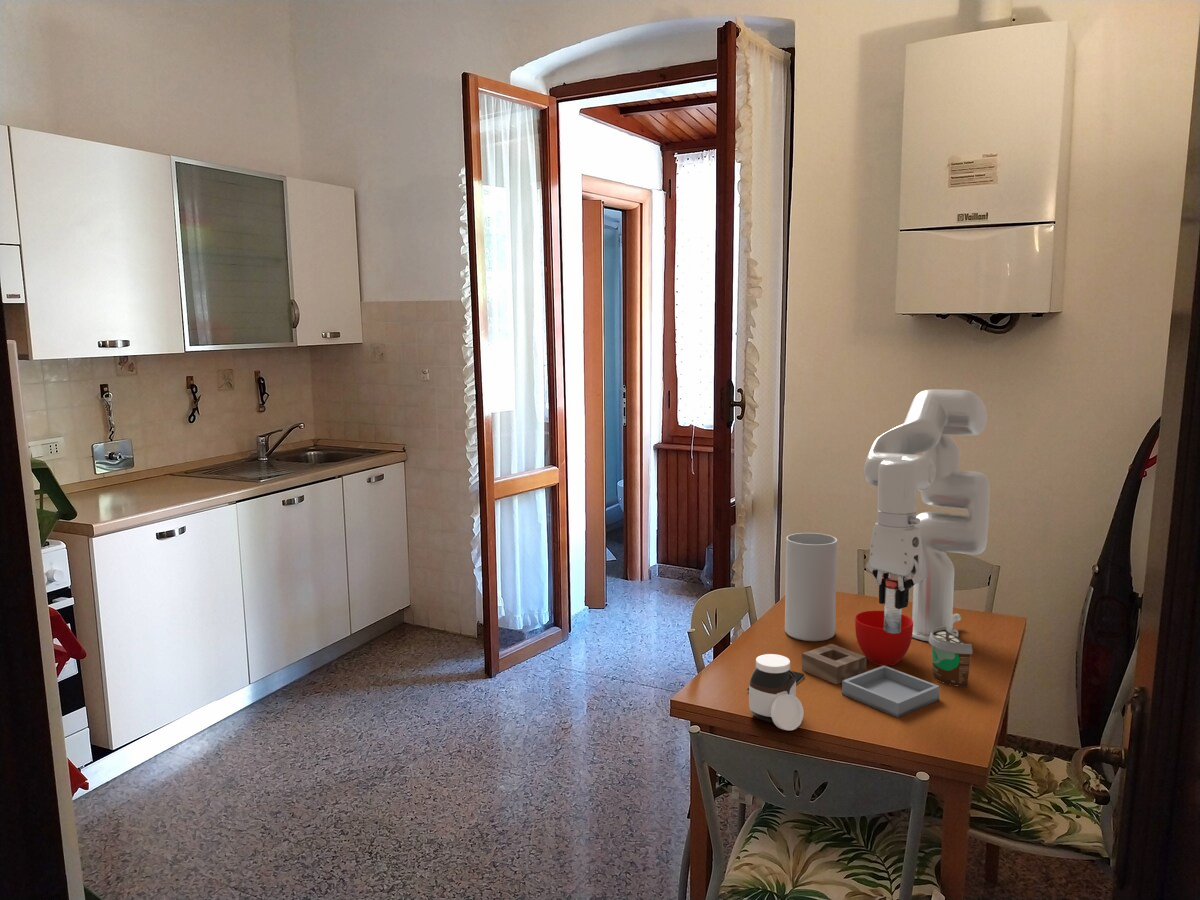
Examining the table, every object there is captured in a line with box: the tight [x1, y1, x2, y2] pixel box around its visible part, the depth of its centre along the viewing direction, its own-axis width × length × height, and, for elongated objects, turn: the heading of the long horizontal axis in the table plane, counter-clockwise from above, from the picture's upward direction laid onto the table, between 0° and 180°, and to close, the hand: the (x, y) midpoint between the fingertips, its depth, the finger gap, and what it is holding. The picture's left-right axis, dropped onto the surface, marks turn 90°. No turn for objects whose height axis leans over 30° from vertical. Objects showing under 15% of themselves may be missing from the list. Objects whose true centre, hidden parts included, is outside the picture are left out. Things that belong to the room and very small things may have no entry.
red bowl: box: [854, 610, 913, 666], centre depth 202 cm, size 13×17×10 cm
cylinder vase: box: [784, 532, 838, 642], centre depth 218 cm, size 12×12×25 cm
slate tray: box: [841, 665, 941, 719], centre depth 181 cm, size 14×14×3 cm
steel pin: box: [883, 577, 903, 634], centre depth 179 cm, size 3×3×11 cm
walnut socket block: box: [801, 643, 867, 685], centre depth 195 cm, size 10×10×4 cm
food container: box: [928, 626, 973, 687], centre depth 190 cm, size 12×6×10 cm, turn 5°
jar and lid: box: [748, 653, 804, 731], centre depth 172 cm, size 12×11×12 cm
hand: (893, 604), depth 179 cm, fingers closed on steel pin, 3 cm apart
